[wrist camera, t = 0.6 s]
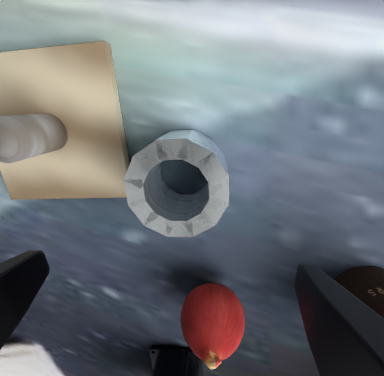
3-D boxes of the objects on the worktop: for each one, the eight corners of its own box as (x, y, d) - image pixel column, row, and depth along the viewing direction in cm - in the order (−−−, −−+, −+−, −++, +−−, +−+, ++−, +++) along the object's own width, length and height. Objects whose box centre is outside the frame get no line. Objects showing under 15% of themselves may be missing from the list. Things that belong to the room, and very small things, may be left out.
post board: (134, 193, 21) (104, 225, 15) (19, 195, 22) (-47, 226, 17) (110, 44, 16) (55, 14, 11) (-30, 59, 18) (-141, 39, 12)
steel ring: (226, 206, 20) (229, 237, 16) (152, 207, 21) (133, 236, 16) (225, 127, 18) (228, 135, 13) (141, 132, 19) (116, 141, 14)
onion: (231, 312, 25) (237, 401, 17) (181, 299, 25) (166, 383, 17) (247, 272, 23) (262, 355, 15) (192, 258, 23) (180, 334, 15)
